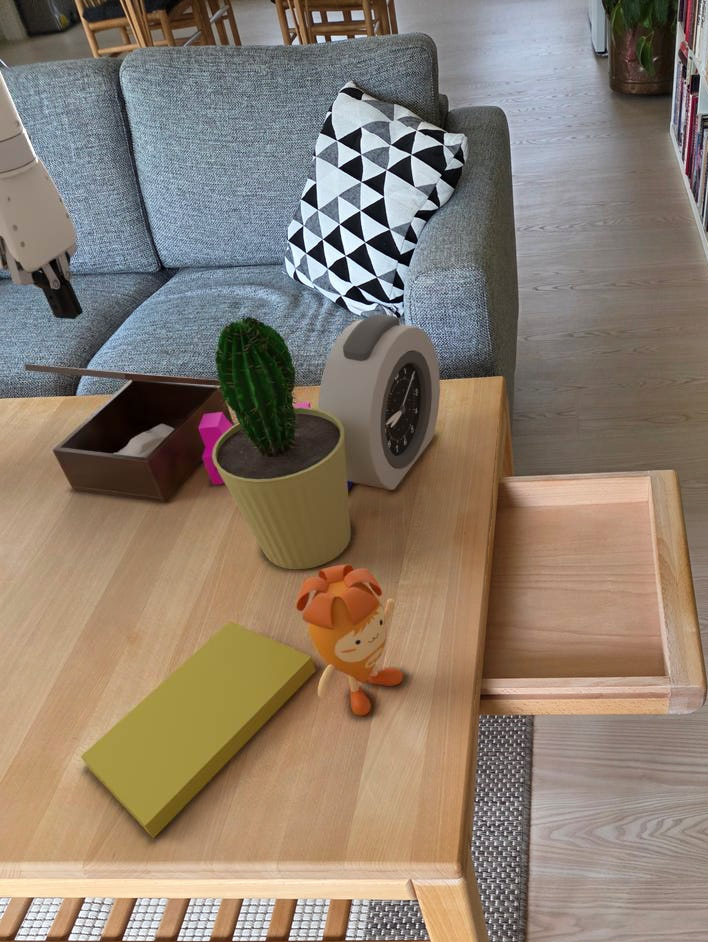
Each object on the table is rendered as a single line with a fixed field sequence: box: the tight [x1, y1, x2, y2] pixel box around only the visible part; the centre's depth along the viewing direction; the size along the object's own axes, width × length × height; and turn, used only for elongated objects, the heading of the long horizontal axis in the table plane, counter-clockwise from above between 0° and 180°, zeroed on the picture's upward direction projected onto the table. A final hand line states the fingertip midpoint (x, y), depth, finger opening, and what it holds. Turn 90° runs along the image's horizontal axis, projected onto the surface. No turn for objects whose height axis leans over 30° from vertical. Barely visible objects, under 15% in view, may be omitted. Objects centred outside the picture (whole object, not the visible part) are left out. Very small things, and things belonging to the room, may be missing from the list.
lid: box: [24, 363, 220, 386], centre depth 120 cm, size 20×16×1 cm
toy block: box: [198, 401, 312, 485], centre depth 121 cm, size 15×6×8 cm, turn 91°
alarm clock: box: [317, 313, 441, 491], centre depth 115 cm, size 21×8×20 cm, turn 158°
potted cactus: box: [206, 312, 352, 570], centre depth 100 cm, size 15×15×30 cm
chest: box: [52, 380, 235, 503], centre depth 126 cm, size 20×16×7 cm
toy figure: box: [295, 564, 404, 717], centre depth 87 cm, size 12×8×15 cm, turn 141°
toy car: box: [113, 424, 174, 458], centre depth 125 cm, size 6×12×3 cm, turn 143°
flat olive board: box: [80, 620, 317, 839], centre depth 90 cm, size 12×2×24 cm
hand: (69, 315), depth 108 cm, fingers closed
